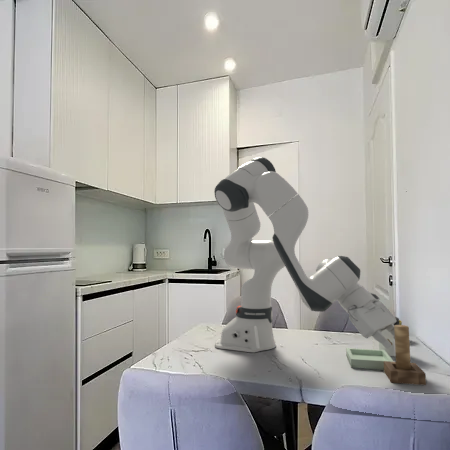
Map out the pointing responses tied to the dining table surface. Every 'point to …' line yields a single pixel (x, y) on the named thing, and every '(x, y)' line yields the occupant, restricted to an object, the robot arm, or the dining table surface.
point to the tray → (367, 358)
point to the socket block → (405, 374)
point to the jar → (389, 336)
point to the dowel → (402, 347)
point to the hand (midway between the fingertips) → (395, 343)
